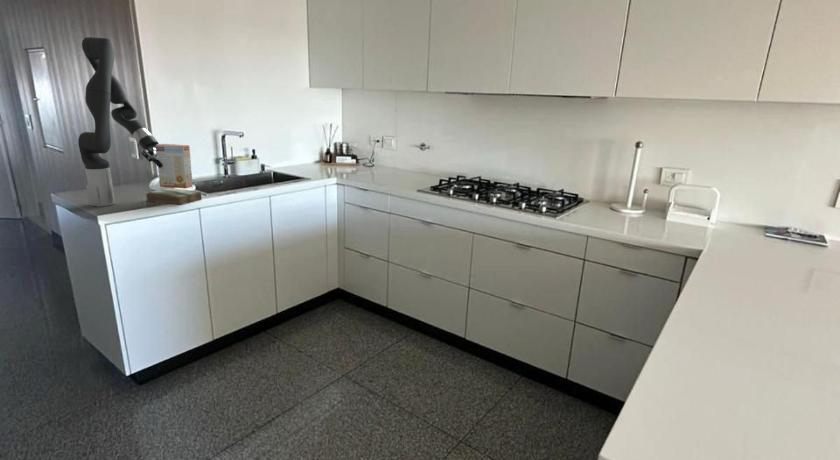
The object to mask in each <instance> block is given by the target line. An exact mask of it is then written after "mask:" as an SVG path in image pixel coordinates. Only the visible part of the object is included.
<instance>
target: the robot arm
mask: <svg viewBox="0 0 840 460" xmlns="http://www.w3.org/2000/svg"><path fill="white" fill-rule="evenodd" d="M81 49H82V51H83V54H84V56H85V57H86V59H87V60H88V62H89V64H90V65H91V67H92V68H93V70H94V73H93V75H92V76H91V78H89V80H88V82H87V83H86V86H85V98H84V99H85V104H86V107H87V108H88V110H89V112H90V114H91V116H92V117H93V121H94V132H93V131H92V132H91V131H85V132H81V133H80V135H79V136H78V139H77V140H78V141H77V144H78V149H79V154H80V156H81V157H80V158H81V161H82V163H83V165H84V167H85V174H86V179H87V184H86V185H85V187H86V192H87V194H86V195H87V199H88V204H89V205H88V206H90V207H98V208H99V207H108V206H113V205H115V204H116V200H115V193H114V188H113V187H114V186H113V180H112V175H111V168H110V161H108V160H107V159H105V158H103V157H102V156H100V154H106V153H108V152H109V151H110V148H111V145H112V144H111V143H112V142H111V137H112V136H111V125H110V119H111V118H112V119H113V120H114V121H115V122H116V123H117V124H118V125H120V126H121V127H123V128H125V130H127V131H128V132H129V133H130V135H131V136H132V137H133V139H134V140H135V141H136V142H137V143H138V145H139V146H140V147H141V149H142V151H141V153H140V154H141V155H142V156H143V157H144V158H145V159H146V160H147V161H148V162H149V163H151V162H152V163H154V164H155V165H156V167H157V168H158V167H159V168H161V167H162V166H163V165H162V163H161V162H160V161H159V160H158V159H157V150H156V145H157V144H159V142H158V141H157V139H156V138H155V136H154V135H153V134H152V132H150V131H149V130H148V128H146V127H145V125H144V124H143V123H142V122H141V121H140V120H138V119H136V118H137V115H138V113H137V110H136V108H135V107H134V106H133V105H132V104H131V103H130V101H129V99H128V98H127V96H126V93H125V91H124V87H123V86H122V84H121V82H120V81H119V80H118V79H117V77H116V76H115V75H113V68H114V62H115V55H116V53H115V51H116V49H115V45H114V43H113V41H112V40H111V39H109V38H107V37H93V36H90V37H88V36H87V37H84V38H83V39H82V42H81ZM111 104H113V105H122V106H119V107H115V108H113V109H112V110H111ZM110 110H111V111H110ZM110 112H111V113H110ZM110 117H111V118H110Z"/></svg>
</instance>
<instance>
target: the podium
mask: <svg viewBox="0 0 840 460" xmlns="http://www.w3.org/2000/svg"><path fill="white" fill-rule="evenodd" d="M146 199H147V201H149V202H157V203H164V204H170V205H175V206H177V205H178V206H180V205H181V206H182V205H185V204H188V203H189V204H190V203H193V202H197V201H201V200H202V192H200V191H196V190H188V189H183V188H173V187H165V188H163V189H157V190H152V191H148V192H147V193H146Z"/></svg>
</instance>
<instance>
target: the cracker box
mask: <svg viewBox="0 0 840 460" xmlns="http://www.w3.org/2000/svg"><path fill="white" fill-rule="evenodd" d="M190 149H191V148H190V145H188V144H177V143H176V144H175V143H174V144H173V143H158V144H157V145H156V150H157V159H158V160H159V161H160V162H161V163H162V165H163V166H162V167H161V168H159V167H158V166H157V169H158V178H159V179H158V180H159V181H158V182H159V187H161V188H174V189H190V188H193V185H194V184H193V174H192V163H191V162H192V160H191V150H190Z"/></svg>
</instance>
